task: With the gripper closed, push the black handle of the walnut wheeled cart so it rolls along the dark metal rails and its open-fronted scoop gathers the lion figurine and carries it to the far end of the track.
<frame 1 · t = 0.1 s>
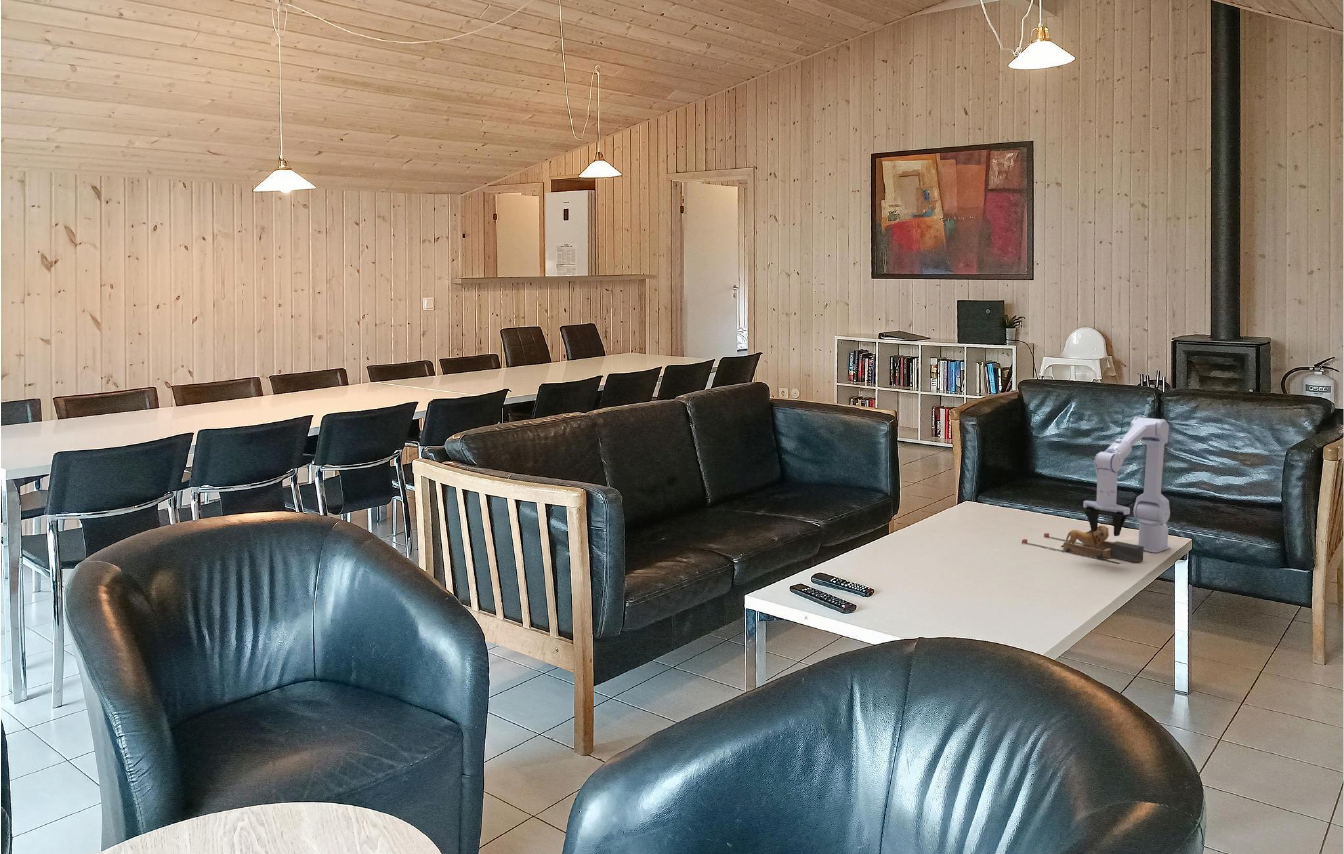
hand: (1105, 533, 330), 10 cm above the table, tool pointing down, fingers open, 7 cm apart
cart: (1106, 547, 342), point 2 cm above the table, slide at 0.0 cm
rail track: (1080, 549, 349), on the table
lion figurine: (1085, 551, 348), on the table
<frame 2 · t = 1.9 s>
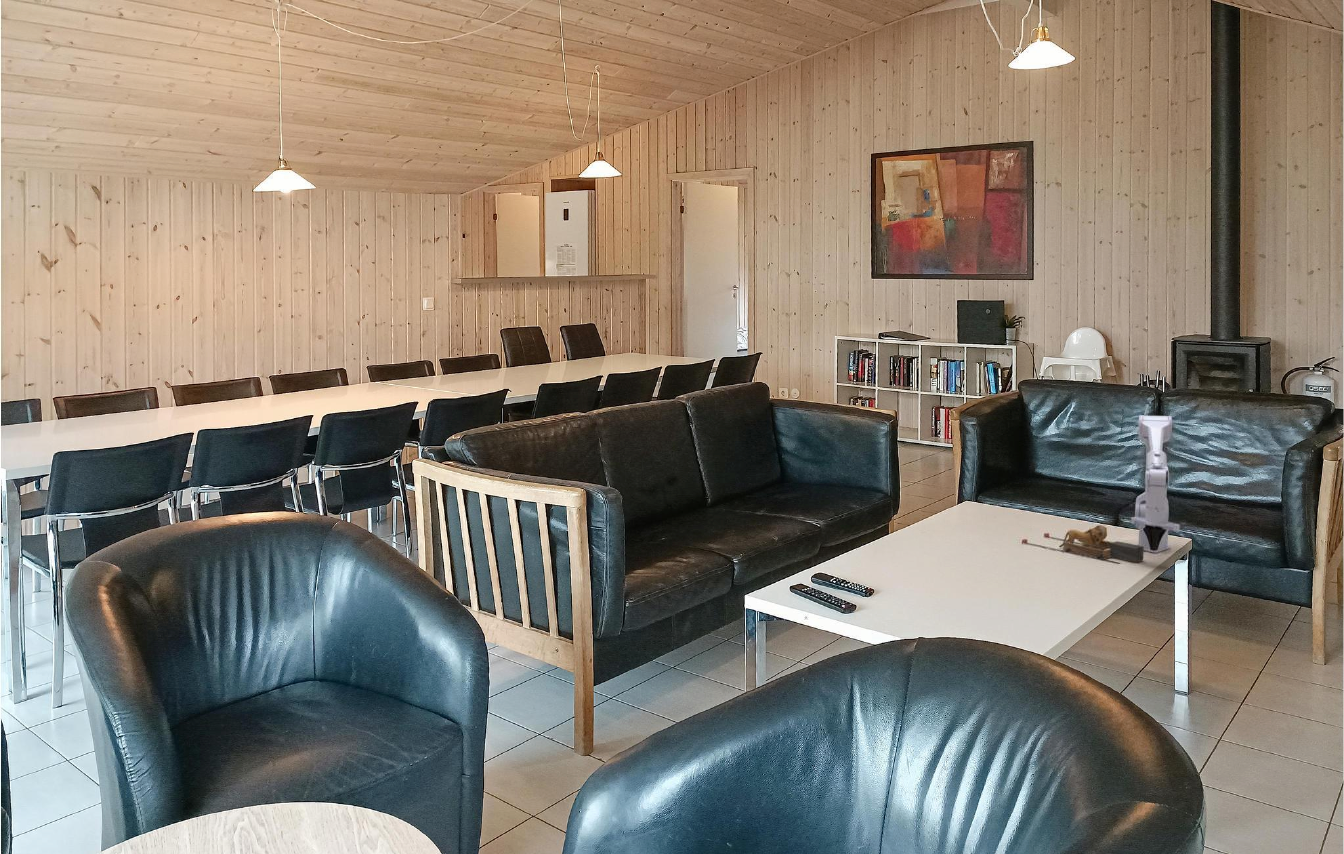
hand: (1154, 549, 328), 5 cm above the table, tool pointing down, fingers closed
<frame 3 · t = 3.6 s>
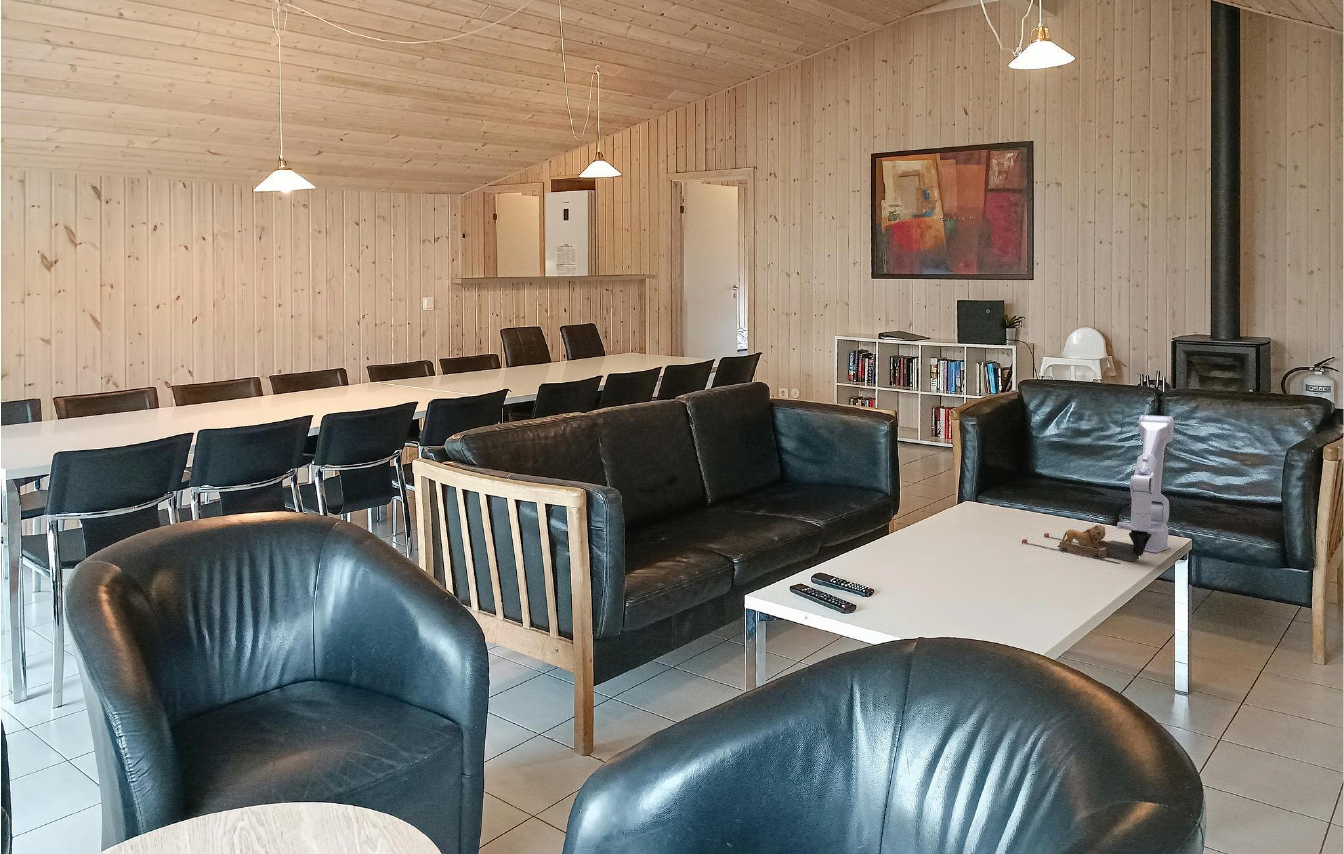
hand: (1139, 554, 333), 2 cm above the table, tool pointing down, fingers closed
cart: (1101, 546, 343), point 3 cm above the table, slide at 1.5 cm, touching gripper
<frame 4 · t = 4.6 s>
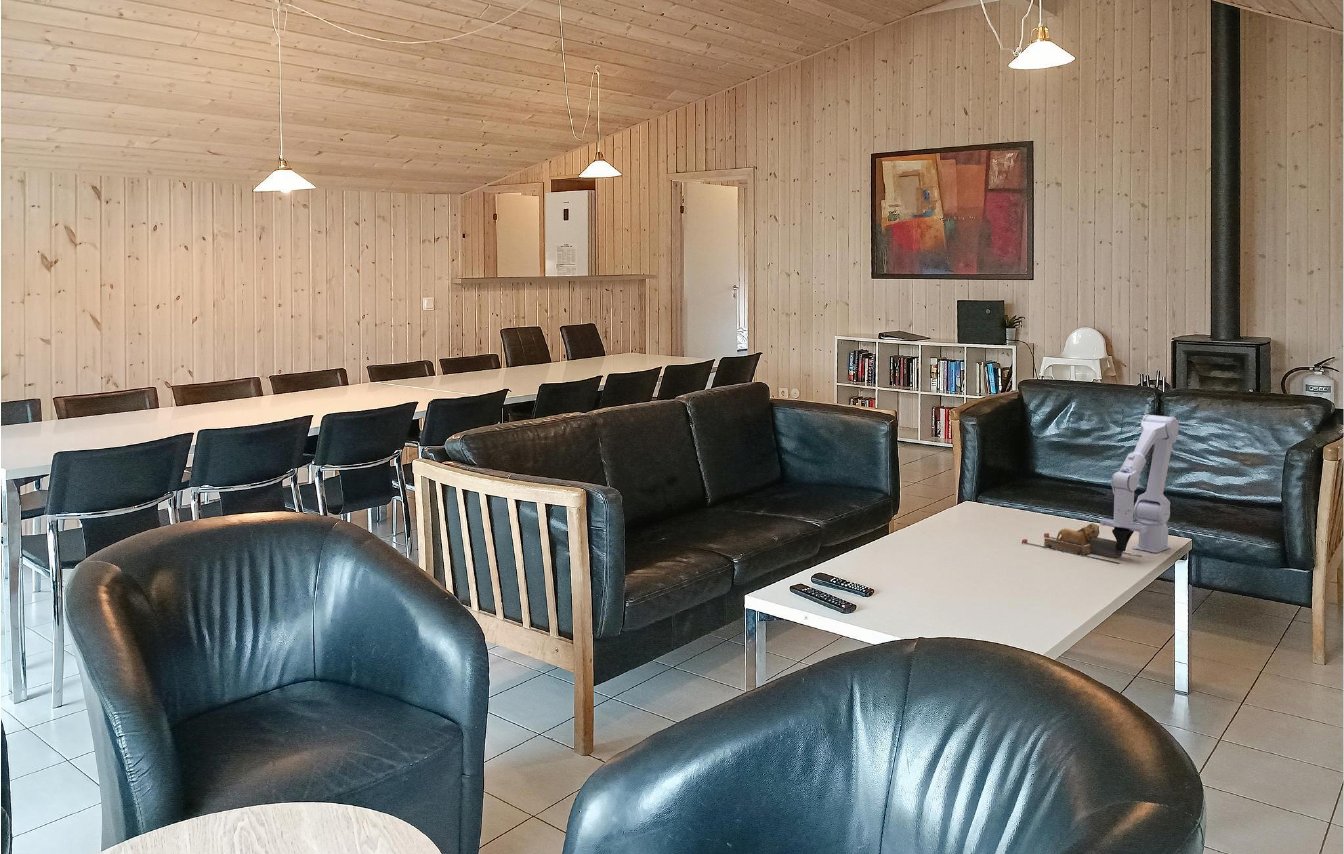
hand: (1122, 550, 337), 2 cm above the table, tool pointing down, fingers closed
cart: (1086, 543, 347), point 3 cm above the table, slide at 7.1 cm, touching gripper, lion figurine
lion figurine: (1076, 549, 350), on the table, touching cart
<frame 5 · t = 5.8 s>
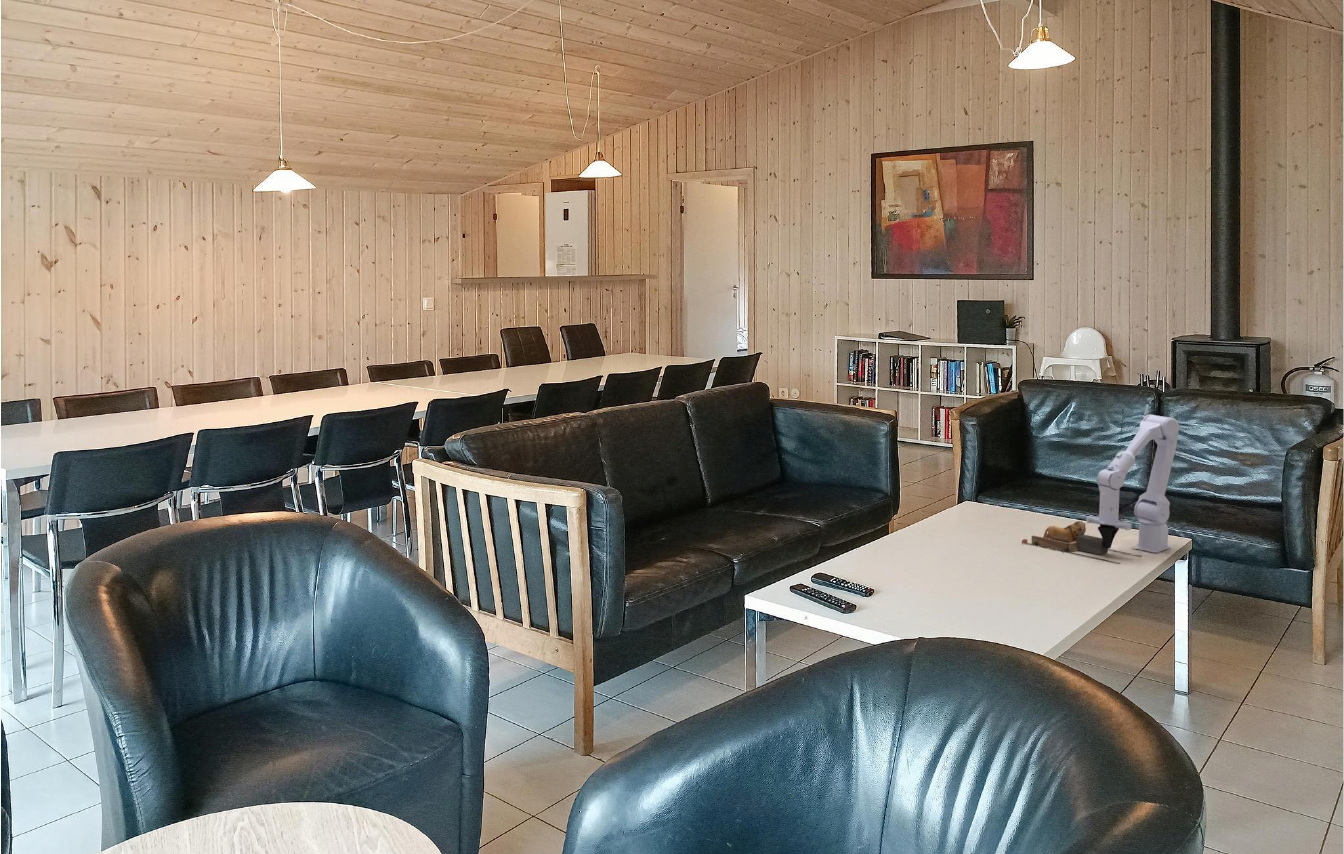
hand: (1107, 547, 341), 2 cm above the table, tool pointing down, fingers closed
cart: (1072, 540, 351), point 3 cm above the table, slide at 12.0 cm, touching gripper, lion figurine
lion figurine: (1063, 546, 354), on the table, touching cart
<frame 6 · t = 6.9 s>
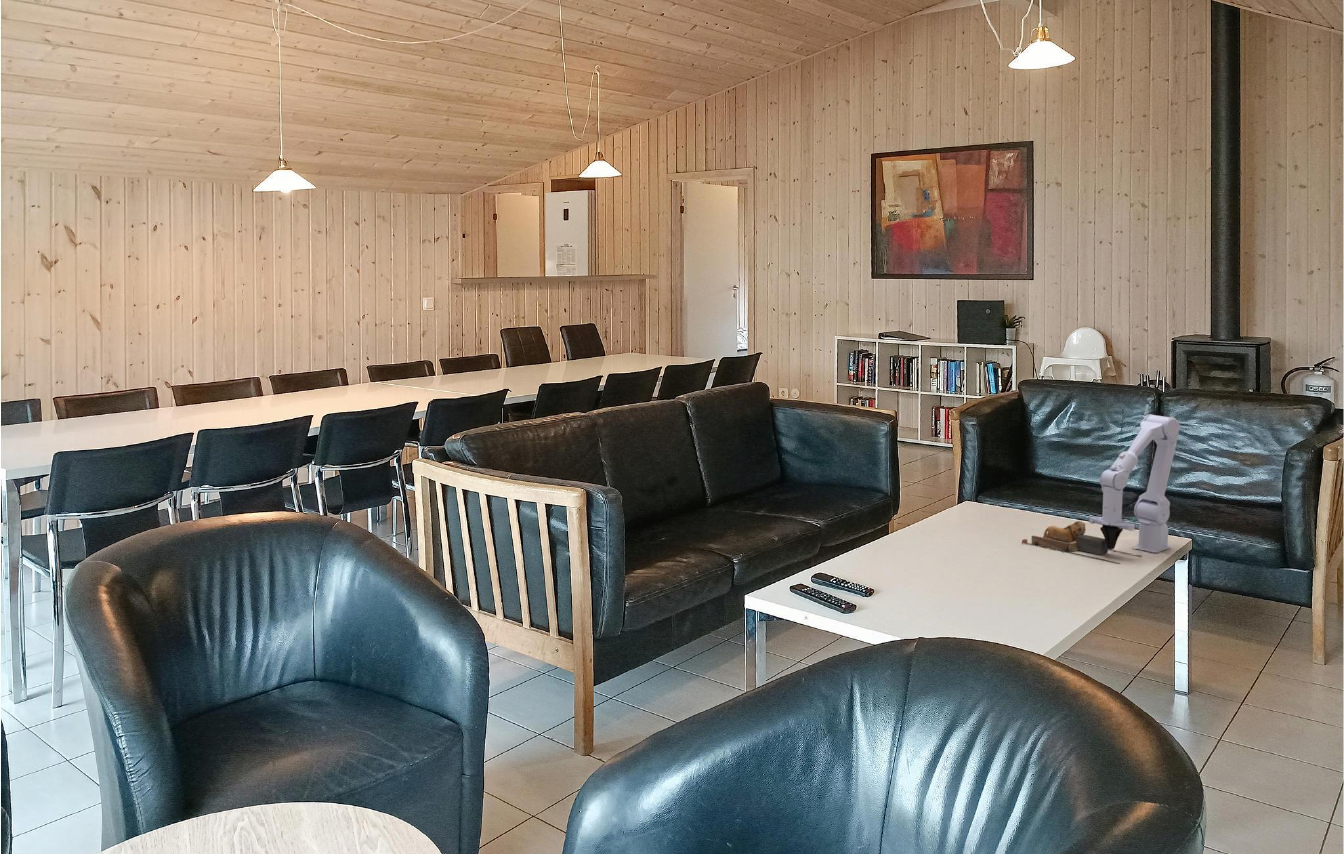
hand: (1110, 548, 340), 2 cm above the table, tool pointing down, fingers closed
cart: (1072, 540, 351), point 3 cm above the table, slide at 12.0 cm
lion figurine: (1063, 546, 354), on the table
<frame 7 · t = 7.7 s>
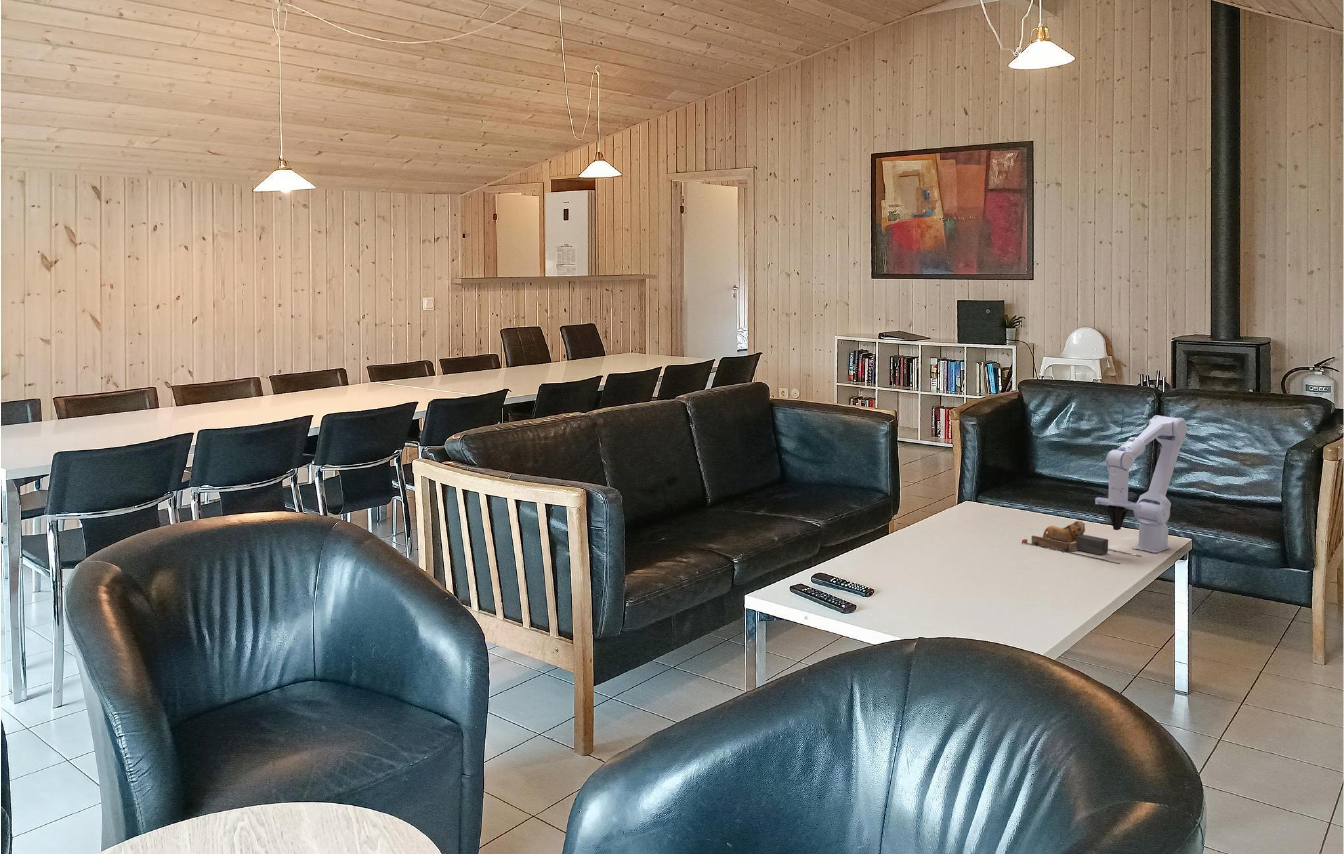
hand: (1117, 529, 338), 9 cm above the table, tool pointing down, fingers closed
nothing on the table moved.
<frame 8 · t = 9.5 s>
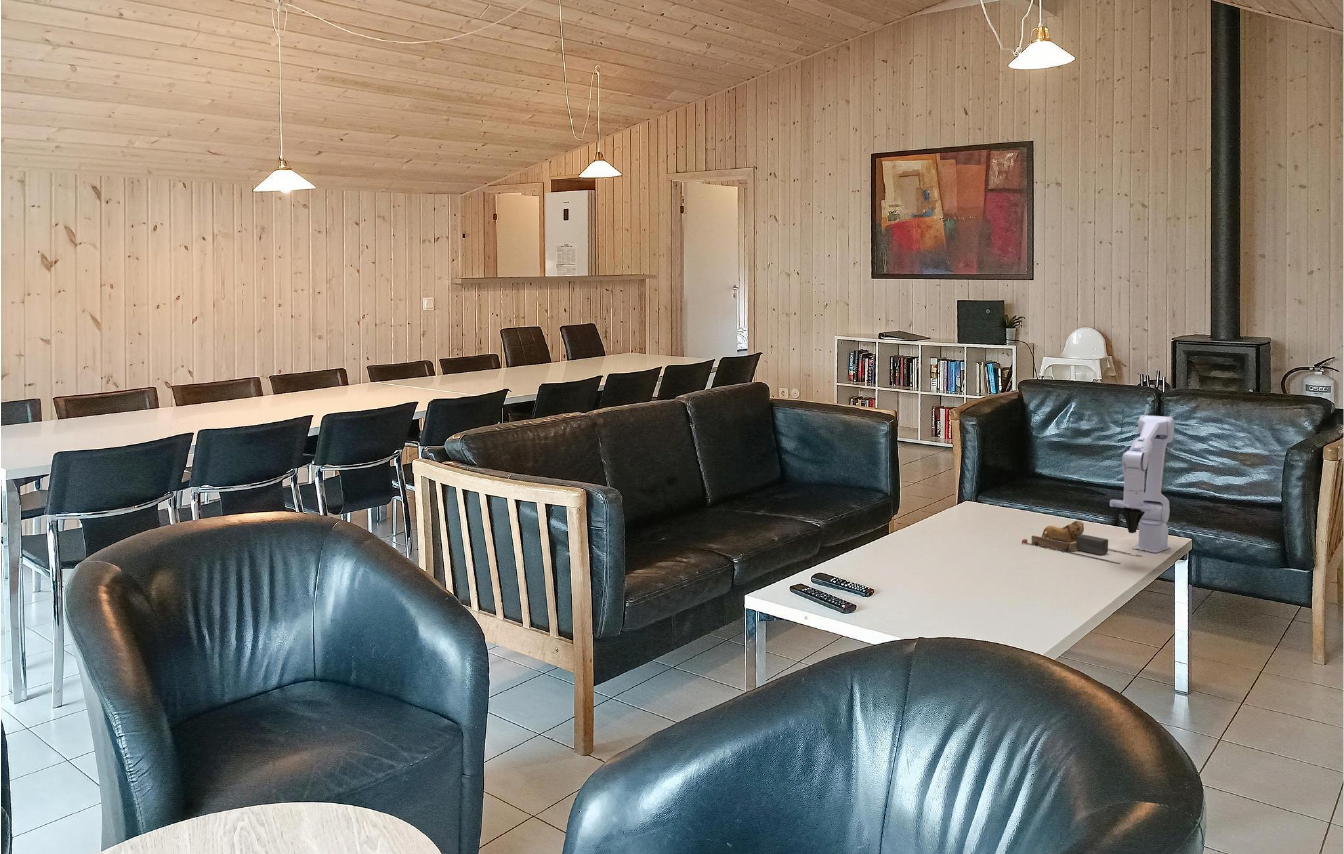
hand: (1132, 532, 328), 10 cm above the table, tool pointing down, fingers closed
at the end: cart slide at 12.0 cm; lion figurine inside the target area (0.3 cm from its centre), on the table; lion figurine tilted 0° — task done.
